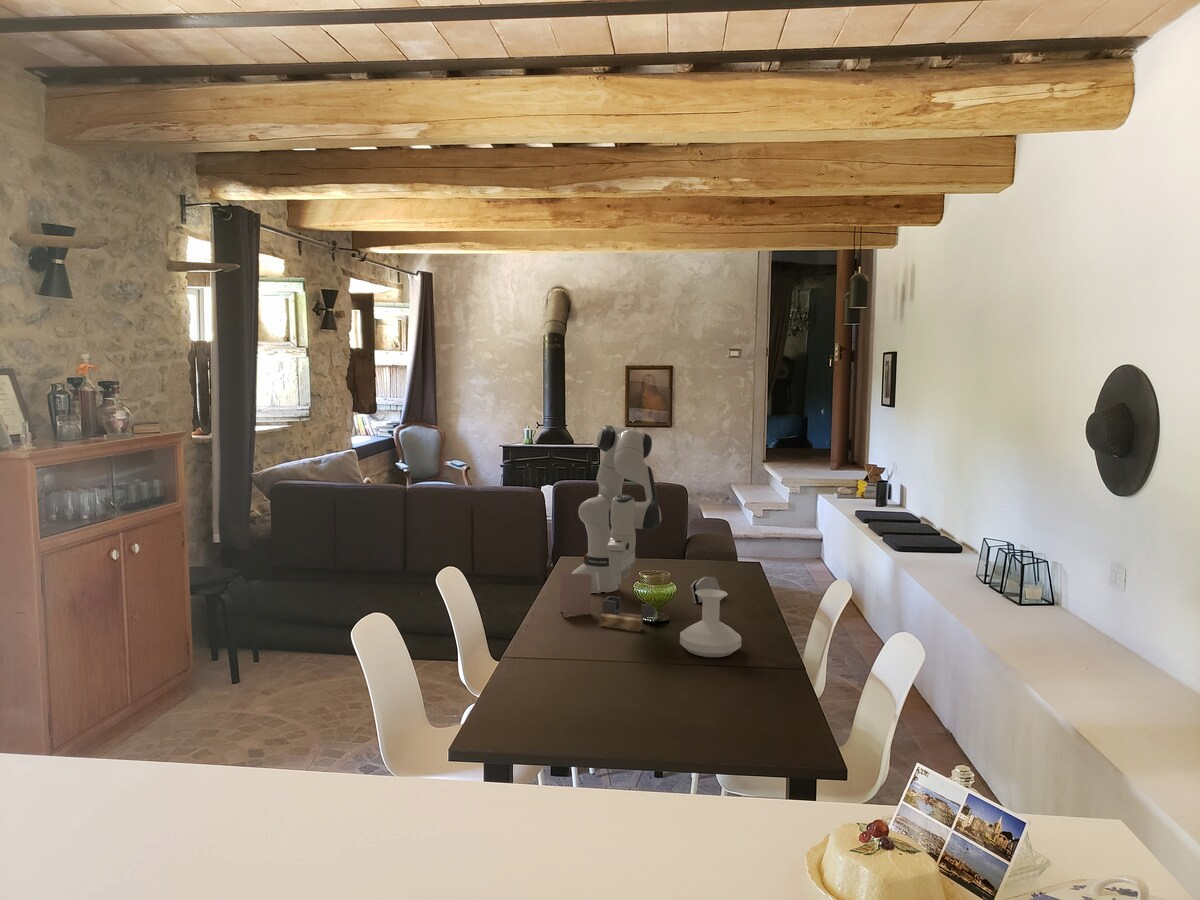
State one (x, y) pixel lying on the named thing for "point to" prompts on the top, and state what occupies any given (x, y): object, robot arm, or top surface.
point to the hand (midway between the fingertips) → (622, 580)
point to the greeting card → (575, 593)
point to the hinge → (703, 586)
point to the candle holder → (710, 629)
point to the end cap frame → (613, 607)
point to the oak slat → (621, 621)
